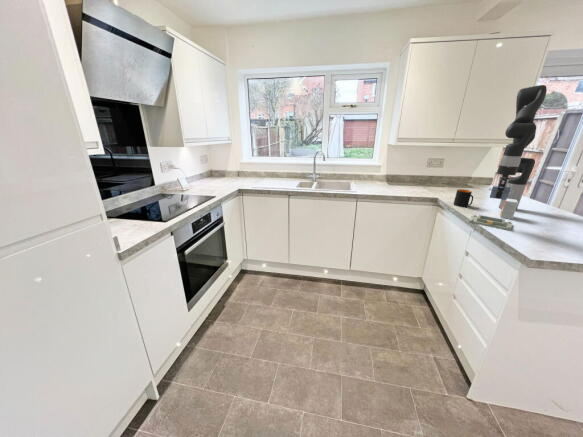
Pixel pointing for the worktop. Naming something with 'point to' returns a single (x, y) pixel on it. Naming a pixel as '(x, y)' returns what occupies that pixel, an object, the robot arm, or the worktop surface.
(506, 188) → the servo
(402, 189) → the worktop surface
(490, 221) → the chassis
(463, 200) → the mug
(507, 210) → the small box
